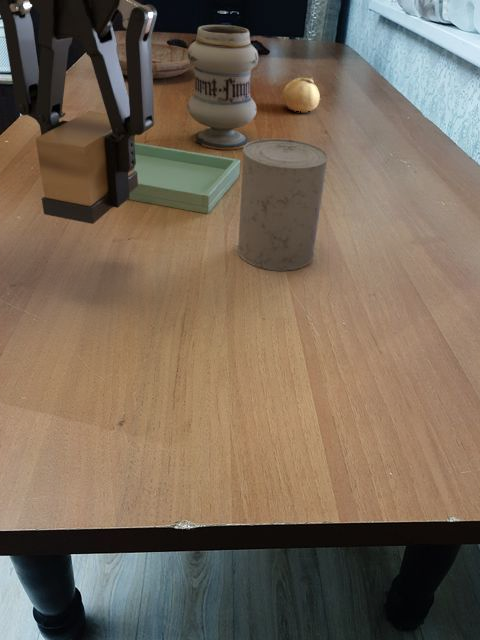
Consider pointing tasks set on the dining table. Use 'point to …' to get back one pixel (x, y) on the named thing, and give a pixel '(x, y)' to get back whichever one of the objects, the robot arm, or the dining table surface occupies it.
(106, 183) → the eraser
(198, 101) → the apothecary jar
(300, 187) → the grey cylinder
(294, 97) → the onion
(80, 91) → the dining table surface
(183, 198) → the tray
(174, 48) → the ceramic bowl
